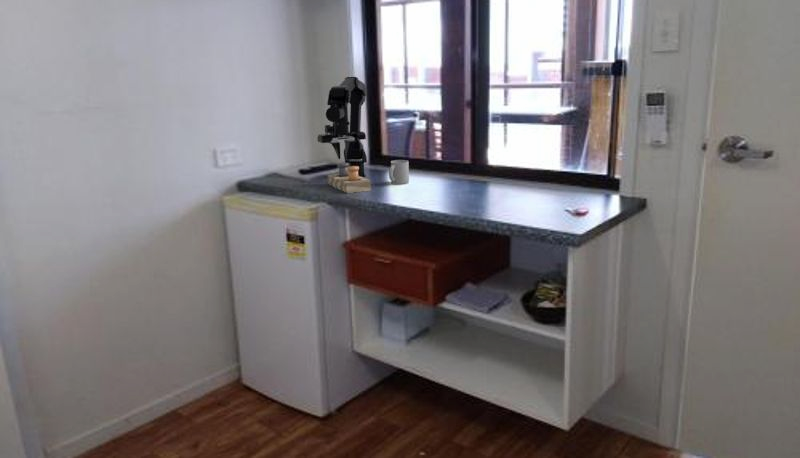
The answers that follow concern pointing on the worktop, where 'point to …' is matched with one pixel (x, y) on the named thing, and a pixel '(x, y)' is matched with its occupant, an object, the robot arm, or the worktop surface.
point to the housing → (349, 183)
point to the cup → (399, 172)
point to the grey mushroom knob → (343, 169)
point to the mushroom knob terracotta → (353, 173)
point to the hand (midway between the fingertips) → (342, 158)
